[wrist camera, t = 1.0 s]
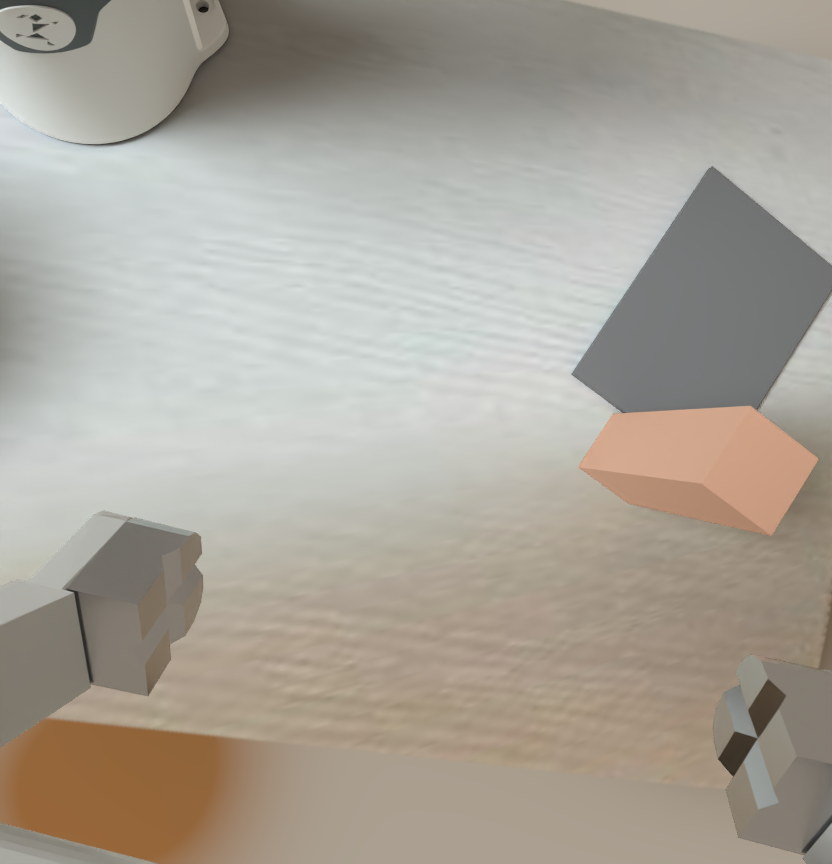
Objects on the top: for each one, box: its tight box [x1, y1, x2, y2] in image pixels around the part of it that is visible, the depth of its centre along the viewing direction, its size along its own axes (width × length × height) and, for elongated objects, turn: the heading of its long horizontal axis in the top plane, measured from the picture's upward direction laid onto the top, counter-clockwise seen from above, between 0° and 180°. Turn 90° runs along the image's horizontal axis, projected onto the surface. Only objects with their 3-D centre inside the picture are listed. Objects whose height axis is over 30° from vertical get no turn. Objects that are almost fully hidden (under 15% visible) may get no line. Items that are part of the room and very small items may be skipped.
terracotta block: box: [578, 406, 819, 536], centre depth 43 cm, size 5×5×16 cm
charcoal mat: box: [572, 166, 832, 413], centre depth 52 cm, size 20×14×1 cm
